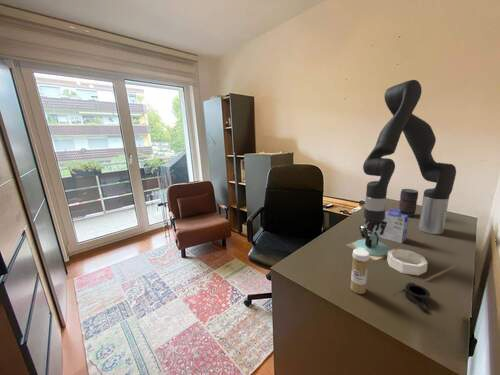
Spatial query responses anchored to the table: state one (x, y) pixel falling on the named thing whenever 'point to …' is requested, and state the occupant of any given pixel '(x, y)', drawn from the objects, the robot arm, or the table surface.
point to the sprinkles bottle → (359, 270)
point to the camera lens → (408, 202)
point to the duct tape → (417, 295)
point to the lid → (373, 247)
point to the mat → (369, 255)
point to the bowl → (407, 261)
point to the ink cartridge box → (395, 226)
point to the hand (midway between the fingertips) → (371, 245)
